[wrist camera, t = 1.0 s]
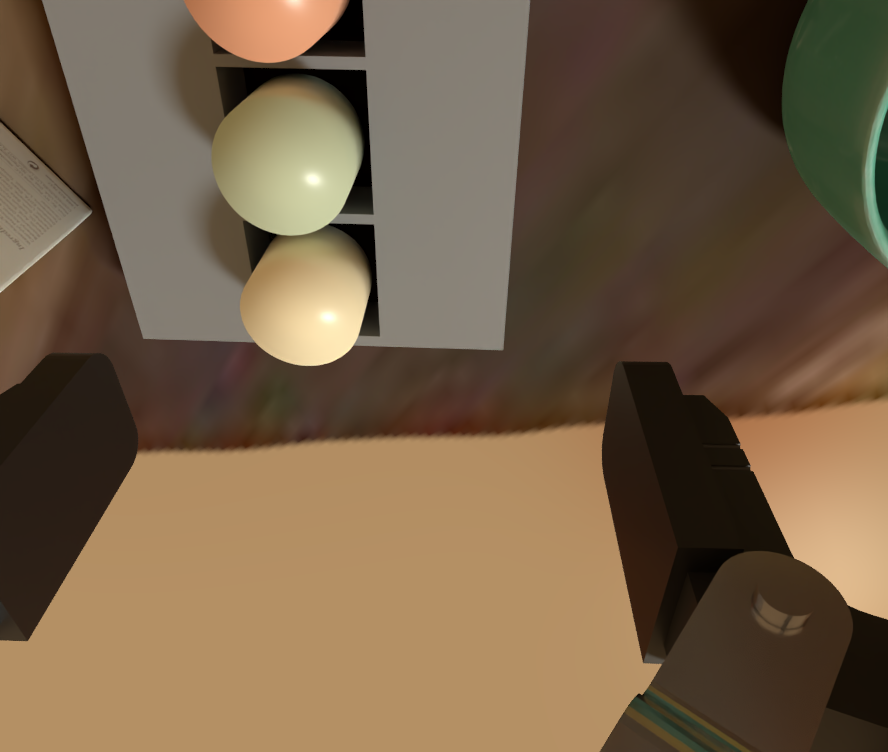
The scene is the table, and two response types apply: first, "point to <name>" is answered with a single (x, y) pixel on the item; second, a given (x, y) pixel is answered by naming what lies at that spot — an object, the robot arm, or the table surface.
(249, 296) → the button cream
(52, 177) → the small box
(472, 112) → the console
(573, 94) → the table surface
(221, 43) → the button terracotta
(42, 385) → the robot arm
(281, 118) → the button sage
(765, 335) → the table surface
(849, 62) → the mug
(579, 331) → the table surface
